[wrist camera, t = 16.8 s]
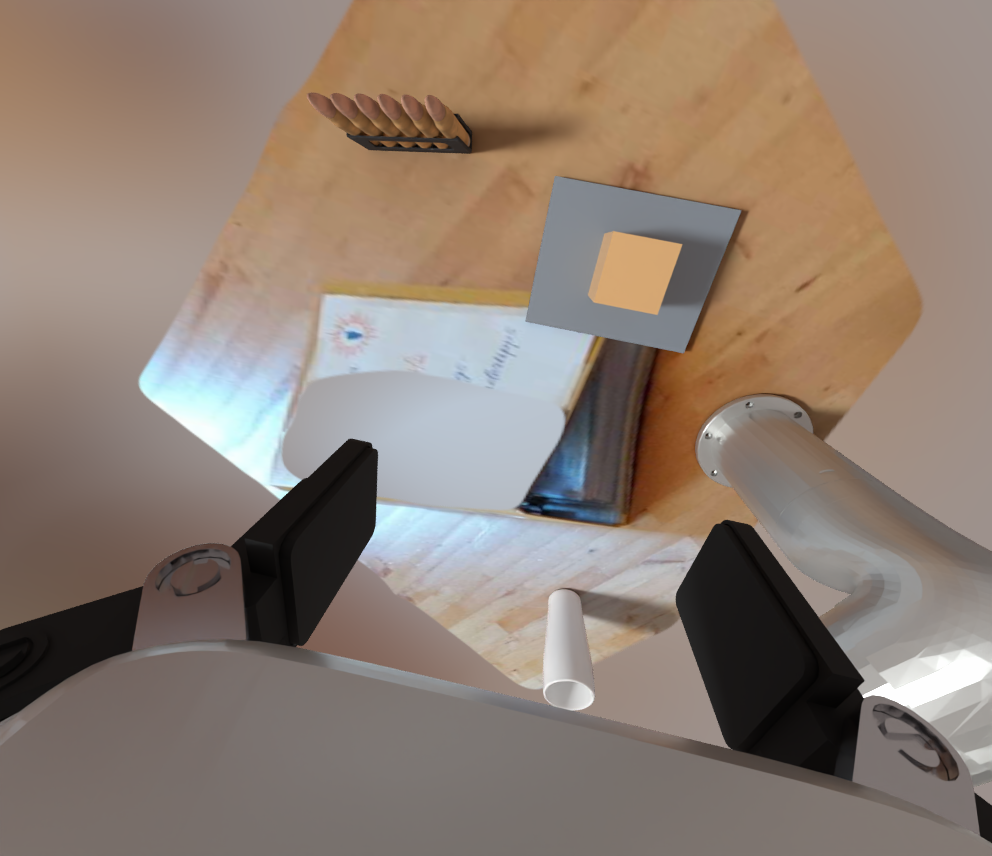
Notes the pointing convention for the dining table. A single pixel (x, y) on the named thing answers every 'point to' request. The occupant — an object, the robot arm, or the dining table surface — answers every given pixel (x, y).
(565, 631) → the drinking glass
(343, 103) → the ammunition clip
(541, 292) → the gray rectangular slab
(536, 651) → the dining table surface
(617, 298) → the beige wooden cube
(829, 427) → the dining table surface
